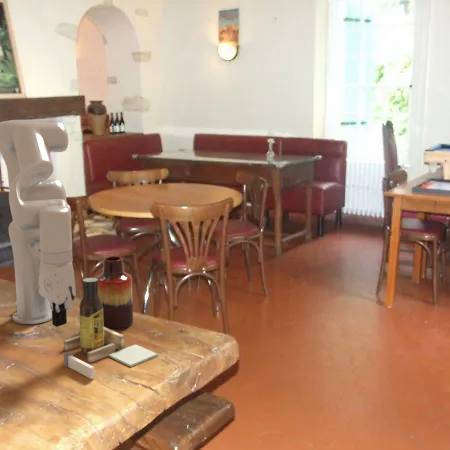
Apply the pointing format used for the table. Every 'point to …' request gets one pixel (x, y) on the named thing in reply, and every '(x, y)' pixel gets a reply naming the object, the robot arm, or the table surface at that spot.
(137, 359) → the tile
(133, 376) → the table surface
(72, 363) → the bar
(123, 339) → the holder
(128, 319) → the vase
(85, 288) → the sauce bottle
